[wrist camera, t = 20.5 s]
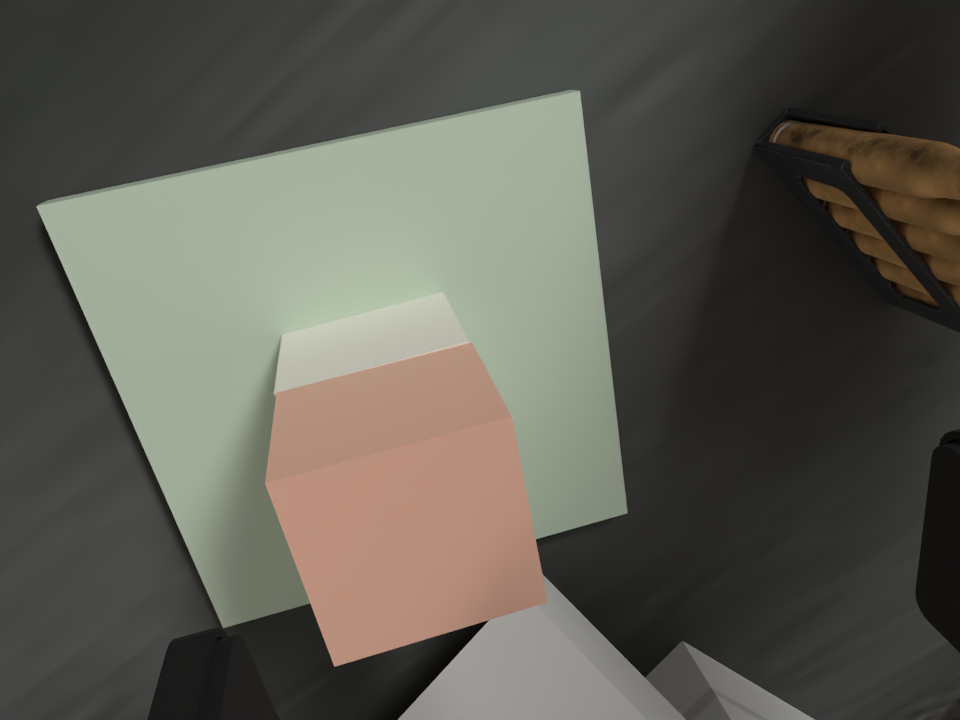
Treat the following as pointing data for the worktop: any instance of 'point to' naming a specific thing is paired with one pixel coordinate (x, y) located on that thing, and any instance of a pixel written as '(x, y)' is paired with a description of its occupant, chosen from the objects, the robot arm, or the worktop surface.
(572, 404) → the base plate
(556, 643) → the pizza boxes
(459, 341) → the cream brick
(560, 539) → the worktop surface
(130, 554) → the worktop surface
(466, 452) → the coral brick
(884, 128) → the ammunition clip
